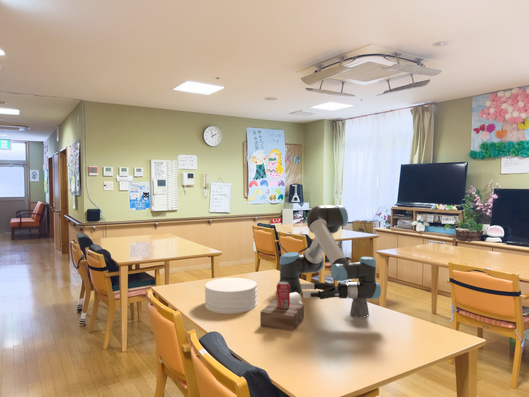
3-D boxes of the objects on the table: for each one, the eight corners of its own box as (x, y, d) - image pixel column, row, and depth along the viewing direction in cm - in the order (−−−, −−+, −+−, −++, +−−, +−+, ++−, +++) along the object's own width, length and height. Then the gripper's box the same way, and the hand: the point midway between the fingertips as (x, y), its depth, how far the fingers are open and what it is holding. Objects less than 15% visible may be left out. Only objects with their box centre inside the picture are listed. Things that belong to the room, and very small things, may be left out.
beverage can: (281, 304, 187) (281, 280, 187) (292, 307, 183) (292, 282, 183) (273, 307, 183) (273, 282, 182) (284, 310, 179) (284, 285, 178)
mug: (277, 308, 203) (277, 293, 203) (292, 304, 209) (292, 290, 209) (292, 314, 193) (292, 299, 193) (306, 311, 199) (307, 295, 199)
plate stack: (233, 317, 190) (232, 294, 189) (194, 306, 206) (194, 285, 206) (267, 303, 212) (267, 282, 211) (229, 294, 229) (229, 275, 228)
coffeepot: (376, 316, 191) (376, 280, 190) (363, 320, 186) (363, 283, 185) (353, 307, 204) (353, 274, 203) (340, 311, 199) (340, 276, 198)
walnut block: (273, 314, 194) (273, 300, 194) (304, 318, 189) (304, 304, 188) (260, 326, 177) (260, 311, 177) (293, 331, 172) (293, 316, 172)
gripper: (352, 306, 170) (304, 306, 170) (341, 290, 194) (300, 290, 195) (352, 289, 169) (304, 289, 170) (342, 275, 194) (300, 275, 194)
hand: (301, 290), depth 182 cm, fingers open, 13 cm apart
